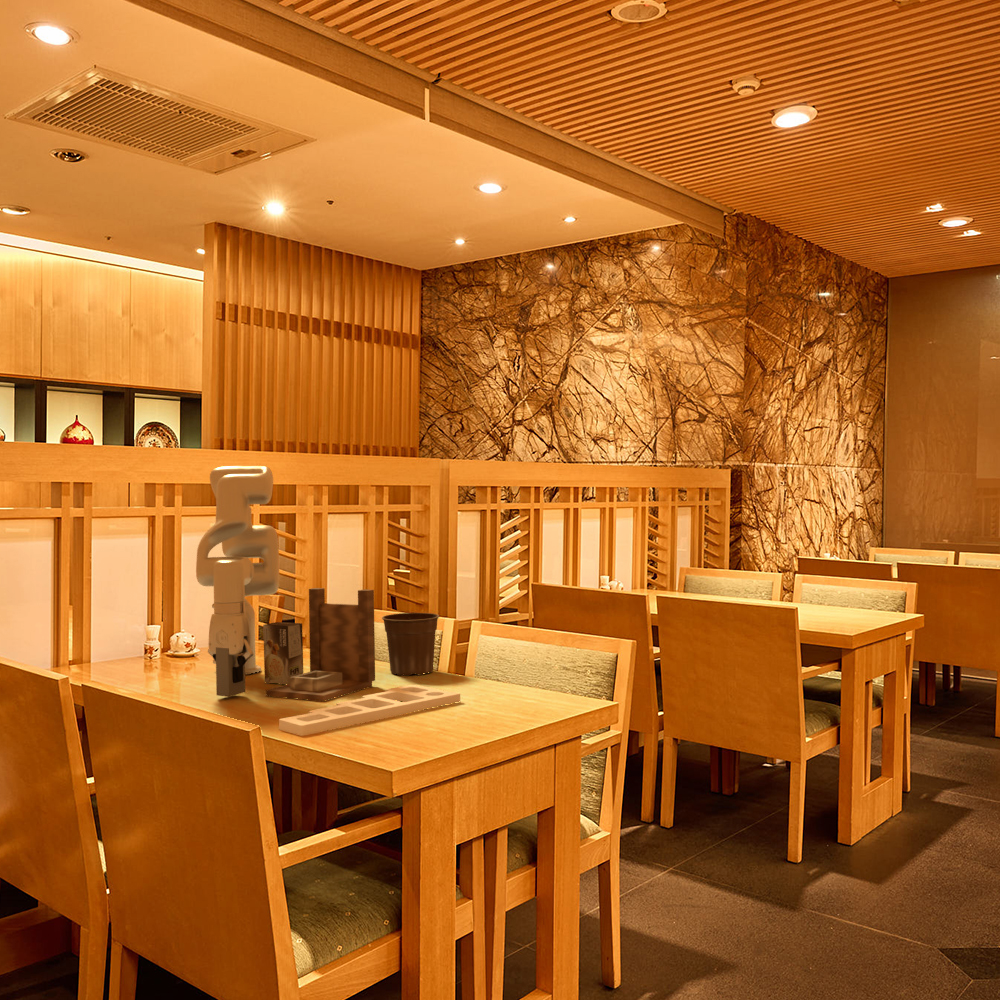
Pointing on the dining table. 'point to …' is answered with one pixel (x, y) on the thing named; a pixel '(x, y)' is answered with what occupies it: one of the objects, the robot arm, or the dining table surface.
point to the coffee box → (282, 651)
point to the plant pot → (411, 642)
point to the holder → (368, 709)
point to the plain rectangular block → (227, 674)
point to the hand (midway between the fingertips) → (230, 680)
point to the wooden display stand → (336, 649)
